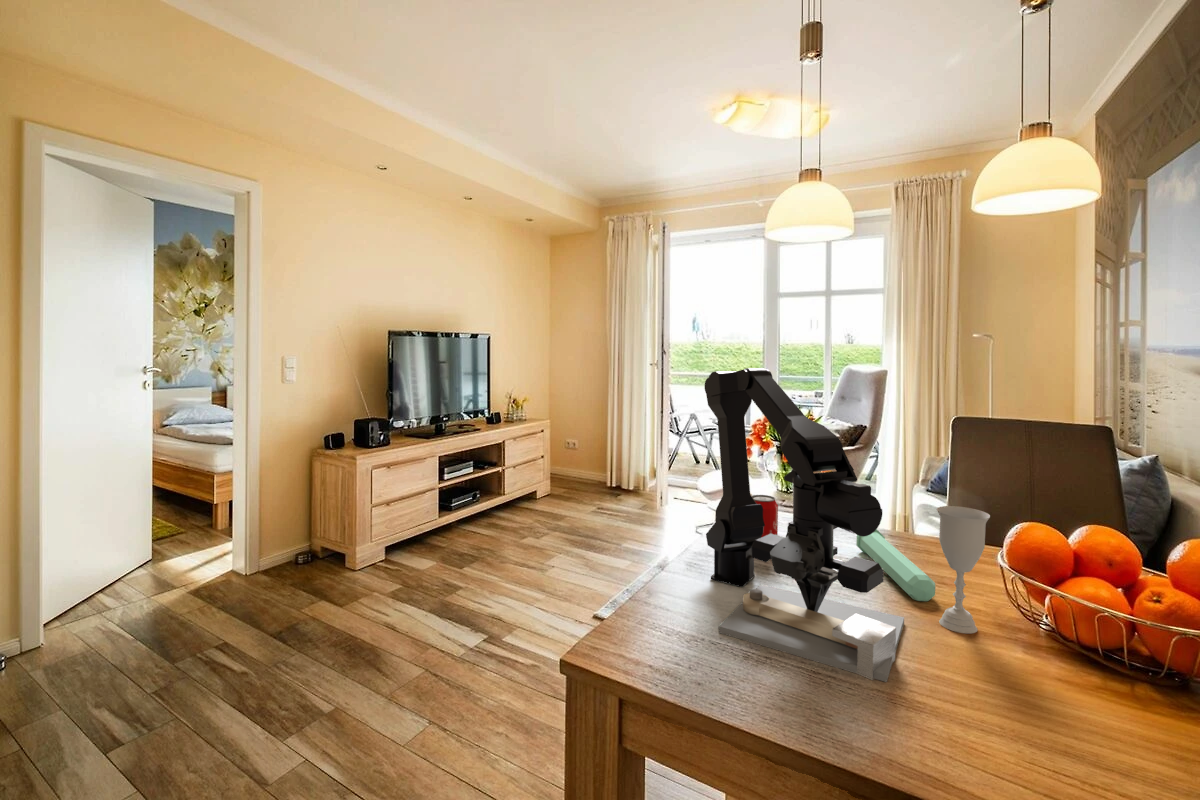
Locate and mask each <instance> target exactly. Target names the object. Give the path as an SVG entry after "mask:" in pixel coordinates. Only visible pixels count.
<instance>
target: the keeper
mask: <svg viewBox="0 0 1200 800" xmlns="http://www.w3.org/2000/svg"><path fill="white" fill-rule="evenodd" d="M832 636H833V637H836V638H839V639H841V640H844V641H846V642H849V643H851V644H854V645H856V646H858V656H857V673H856V674H857V675H859V676H861V677H864V678H866V679H868V680H871V681H874V680H875V679H874V675H875V671H876V670H877V669H878V668H879V667H880V666H882V665H883V664H884V663H885V662H886V661H887V660H889V659H890V658H891V657H892V656H893V659H892V664H893V663H894V662H895V661H896V653H895V646H896V627H894V626H891V625H888V624H885V623H882V622H879V621H876V620H874V619H871V618H868V617H865V616H862V615H859V614H854V615H853V616H851V617H850V618H848V619H847V620H845V621H844V622H842V623H841V624H839V625H838V626H836V627H835V628H833V629H832Z"/></svg>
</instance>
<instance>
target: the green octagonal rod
mask: <svg viewBox="0 0 1200 800" xmlns="http://www.w3.org/2000/svg"><path fill="white" fill-rule="evenodd" d="M855 543H856V547H857V548H858V549H859V550H860V551H861V552H862V553H863V554H867V555H868V556H869V557H870V558H871V559H872V561H873V562H877V563H879V565H880V566H881V568H882V569H883V572H885V573H886V574H887V575H888V576H889V577H890V578H891V579H892V580H893V581H894V582H895V583H896V584H897V585H898V586H899V587H900V588H901V589H902V590H903V591H904V592H905V593H906V594H907V595H908V596H909V597H910V598H912V600H914V601H918V602H929V601H930V600H932V599H933V598H934V597H935V596H936V582H935V581H934V580H933V579H932V578H931V577H930V576H929V575H928V574H926V573H925V571H923V570H922V569H921V568H920V567H919V566H917V565H916V564H915V563H913V561H911V560H910V559H909V558H908V557H907V556H905V555H904V554H903V552H901V551H900V550H898V549H897V547H895V546H894V545H893V544H892V543H890V542H889V541H888V540H887V539H886V537H885V535H883V534H882V532H880V531H879V530H878V528H877V529H876V530H875V531H874V532H873V533H872V534H870V535H868V536H859V535H856V542H855Z"/></svg>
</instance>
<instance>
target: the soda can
mask: <svg viewBox="0 0 1200 800" xmlns="http://www.w3.org/2000/svg"><path fill="white" fill-rule="evenodd" d="M751 496H752V497H753V499H754V500H755V502H756V503H757V504H761V505H762V507H763V519H764V523H765V526H764V529H763V535H762V537H764V536H766V535H768V534H774V535H778V527H779V526H778V525H779V518H778V517H779V505H778V503H777V501H776V497H774V496H772V495H767V494H754V495H751Z"/></svg>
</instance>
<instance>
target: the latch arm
mask: <svg viewBox="0 0 1200 800" xmlns="http://www.w3.org/2000/svg"><path fill="white" fill-rule="evenodd" d="M762 593H763V592H762V591H761V590H759V589H756V588H751V589H749V592H746V593H744V594H743V595H742V602H743V610H744V611H745V612H747V613H749V614H752V615H760V616H763V617H766V618H769V619H771V620H774V621H777V622H780V623H783V624H786V625H789V626H792V627H795V628H798V629H801V630H804V631H807V632H810V633H813V634H816V635H819V636H822V637H825V638H828V639H830V640H833V641H836V642H839V643H842V644H845V645H847V646H850V647H853V648H856V649H858V646H856V645H854V644H851V643H849V642H846V641H844V640H841V639H839V638H836V637H833V636H832V629H833V628H835V627H836V626H838V625H839V624H841V623H842V622H844V620H841V619H837V618H834V617H831V616H828V615H825V614H821V613H818V612H815V611H812V610H808V609H805V608H802V607H799V606H796V605H792V604H789V603H786V602H783V601H779V600H776V599H773V598H770V597H767V596H766V595H764V594H762Z"/></svg>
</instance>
